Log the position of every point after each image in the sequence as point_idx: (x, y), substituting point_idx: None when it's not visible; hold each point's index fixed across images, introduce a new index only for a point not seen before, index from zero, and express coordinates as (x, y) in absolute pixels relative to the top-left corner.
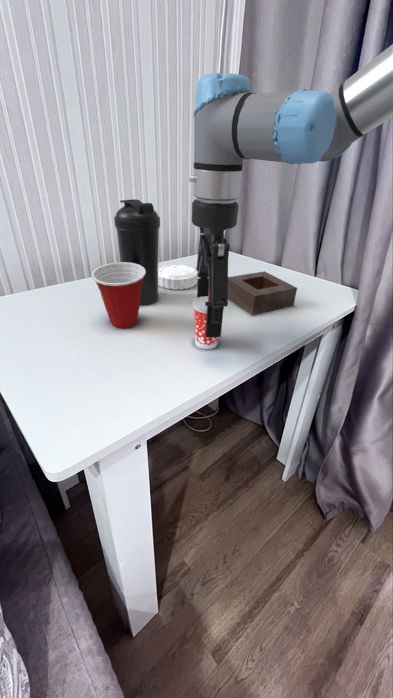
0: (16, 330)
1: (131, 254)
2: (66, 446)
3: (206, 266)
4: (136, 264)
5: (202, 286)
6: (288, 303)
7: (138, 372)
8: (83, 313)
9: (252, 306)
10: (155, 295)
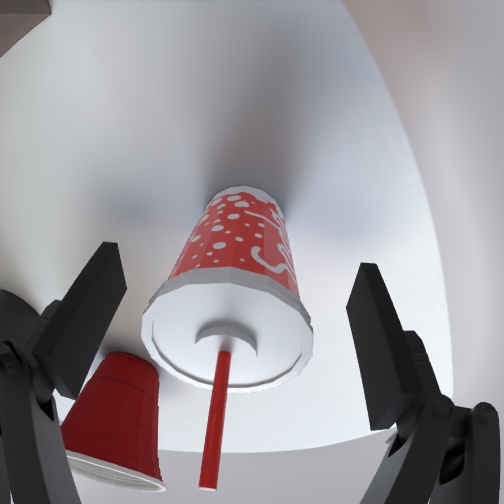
0: (178, 447)
1: None
2: None
3: (57, 466)
4: None
5: (80, 358)
6: None
7: (336, 368)
8: None
9: (23, 17)
10: (14, 312)
